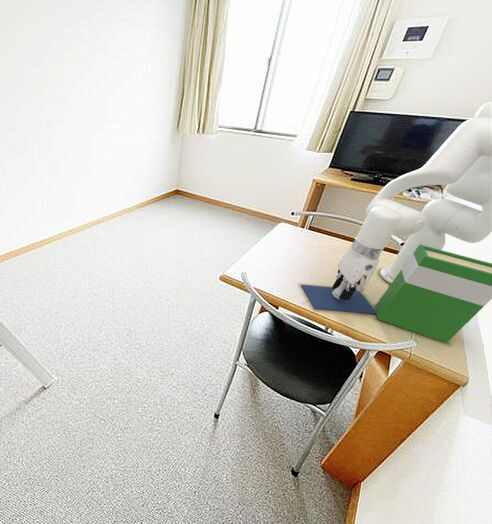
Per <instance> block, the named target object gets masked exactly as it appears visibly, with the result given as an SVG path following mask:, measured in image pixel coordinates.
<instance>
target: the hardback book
mask: <svg viewBox="0 0 492 524" xmlns="http://www.w3.org/2000/svg"><path fill="white" fill-rule="evenodd" d="M490 301H492V262H488V261H484V260H481V259H478V258H477V259H476V258H473V257H469V256H465V255H461V254H458V253H455V252H450V251H446V250H443V249H442V250H439V249H435V248H431V247H427V246H423V245H419V246H418V247H417V249H416V250H415V252H414V253H413V254H412V256H411V257H410V258H409V260H408V261H407V263H406V264H405V265H404V267H403V268H402V269H401V271H400V272H399V274H398V275H397V276H396V278H395V279H394V280H393V282H392V283H391V284H389V286H388V287H387V288H386V289H385V291H384V293H383V294H382V295H381V296H380V298H379V300H378V301H377V303H376V304H375V305H374V307H375V311H376V313H377V314H376V318H377V320H379V321H380V322H381V321H382V322H385V323H387V324H391V325H393V326H395V327H399V328H402V329H404V330H406V331H410V332H413V333H416V334H419V335H421V336H425V337H427V338H431V339H433V340H436V341H438V342H441V343H445V344H448V343H449V342H450V340H452V338H454V336H456V335H457V333H459V332H460V331H461V329H463V327H465V326H466V325H467V324H468V323H469V322H470V321H471V320H472V319H473V318H474V317H475V316H476V315H477V314H478V313H479V312H480V311H481V310H482V309H483V308H484V307H485V306H486V305H487V304H488V303H489V302H490Z"/></svg>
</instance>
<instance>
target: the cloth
mask: <svg viewBox="0 0 492 524" xmlns="http://www.w3.org/2000/svg"><path fill="white" fill-rule="evenodd" d="M300 286H301V288H302V289H303V291H304V293H305V295H306V297H307V298H308V300H309V302H310V304H311V305H312V307H313V309H314V310H323V311H335V312H347V313H357V314H358V313H359V314H367V315H369V314H370V315H377V313H376V309H375V308H374V307H373V306H372V305H371V304H370V302H369V301H368V300H367V298H366V297H365V296H364V295H363V293H362V292H359V291H356V292H354V293H353V295H352V296H351V298H350V299H349V300H340V299H337V298H335V297H334V296H333V294H332V292H333V291H334V289H333V288H332V287H333V286H332V287H331V286H322V285H321V286H320V285H311V284H310V285H309V284H301V285H300Z"/></svg>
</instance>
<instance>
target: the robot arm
mask: <svg viewBox="0 0 492 524" xmlns="http://www.w3.org/2000/svg"><path fill="white" fill-rule="evenodd" d="M445 185H446V187H445V190H446V192H447V193H448V194H449V195H450V196H452V197H455V198H457V199H460V200H463V201H466V202H469V203H472V204H475V205H478V206H481V210H480V209H477V208H475V207H472V206H469V205H467V204H465V203H461V202H458V201H455V200H451V199H446V198H436V199H433V200H431V201H428V202H427V203H426V204H425V205H424V206H423V208H422V210H421V211H419V210H417V209H415V208H412V207H409V206H407V205H405V204H403V203H399V202H397V201H395V200H394V198H395V197H396V196H397V195H399V194H400V193H402V192H404V191H406V190H409V189H411V188H416V187H423V186H445ZM491 233H492V100H491V101H488V102H485V103H484V104H482V105H481V106H480V107H479V108H478V110H477V111H476V113H475V115H474V117H472V118H469V119H467V120H465V121H463V122H462V123H461V124H460V125H459V126H458V127H457V128H456V129H455V130H454V131H453V133H452V134H450V136H449V137H448V138H447V139H446V140H445V141H444V143H443V144H442V145H441V146H440V147H439V148H438V150H437V151H435V152H434V154H432V156H431V157H430V158H429V159H428V161H426V163H425V164H424V165H423V166H422V167H420V168H418V169H415V170H413V171H410V172H407V173H405V174H402V175H400V176H398V177H397V178H395V179H393V180H391V181H390V182H388V183H386V185H385V186H383V187H382V188H381V190H380V191H378V192H377V194H376V195H375V197H373V198H372V199H371V201H370V203H369V204H368V205H367V207H366V209H365V220H364V222H363V223H362V225H361V227H360V229H359V230H358V233H357V234H356V236H355V238H354V240H353V242H352V243H351V245H350V247H348V249H347V250H346V252H345V253H344V255H343V256H342V258H341V259H340V262H339V263H337V268H338V270H337V275H336V280H335V281H334V283H333V285H332V288H333V289H336V288H337V287H339V286H340V285H341V283H342V281H343V277H345V278H346V279H347V281H348V284H347V287H346V289H343V291H342V293H341V295H340V296H339V298H340V299H343V300H349V299H350V298H351V296H352V295H353V293H354V292H356V291H359V292H361V293H363V292H365V287H367V286H368V285H369V283H370V281H371V280H372V278H373V276H374V274H375V272H376V269H377V268H378V264H379V261H380V259H379V258H380V256H381V254H382V252H383V251H384V249H385V247H386V246H387V244H388V242H389V241H390V239H391V237H392V236H408V238H407V239H406V241H405V242H404V244H403V245H402V247H401V249H400V250H399V252H398V253H397V254H396V256H395V258H394V260H393V261H392V263H390V264H389V267H383V268H382V269H381V270H380V272H379V274H380V277H381V278H382V279H383V280H384V281H386V282H387V283H389V285H391V283H392V282H393V280H394V279H395V278H396V276H397V275H398V274H399V272H400V271H401V269H402V268H403V267H404V265H405V264H406V263H407V261H408V260H409V258H410V257H411V256H412V254H413V253H414V252H415V250H416V249H417V247H418V246H419V245H423V246H427V247H431V248H435V249H439V250H442V251H443V248H444V247H445V244H446V235H448V236H451V237H453V238H455V239H458V240H460V241H462V242H465V243H469V244H476V243H480V242H482V241H483V240H485V239H486V238H487V237H489V235H490V234H491Z"/></svg>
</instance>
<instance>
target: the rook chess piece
mask: <svg viewBox="0 0 492 524" xmlns="http://www.w3.org/2000/svg"><path fill="white" fill-rule="evenodd" d="M347 284H348V281H347V279H346V278H345V277H343V281H342V283H341V285H340V286H339V287H337V288H336V289H334V291H333V292H332V294H333V296H334V297H335V298H337V299H340V298H339V296H340V295H341V293H342V291H343V289H346V287H347ZM340 300H343V299H340Z"/></svg>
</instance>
